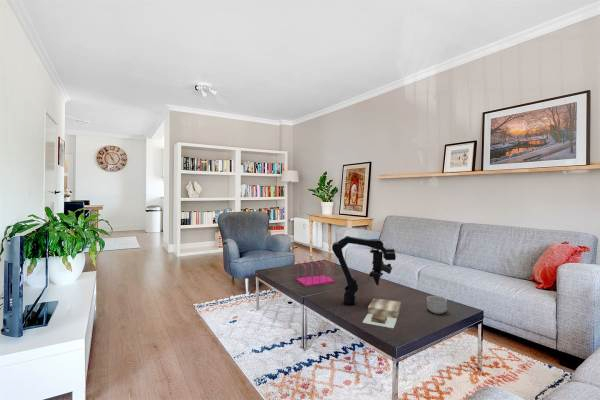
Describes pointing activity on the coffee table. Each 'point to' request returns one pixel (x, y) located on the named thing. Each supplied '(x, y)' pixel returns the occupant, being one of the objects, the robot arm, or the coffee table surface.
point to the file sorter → (315, 279)
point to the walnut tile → (379, 318)
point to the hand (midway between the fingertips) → (377, 285)
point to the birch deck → (384, 307)
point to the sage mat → (389, 323)
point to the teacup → (437, 304)
